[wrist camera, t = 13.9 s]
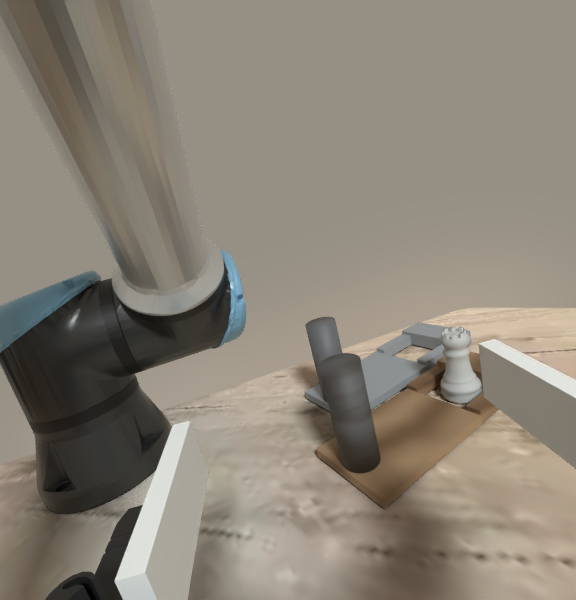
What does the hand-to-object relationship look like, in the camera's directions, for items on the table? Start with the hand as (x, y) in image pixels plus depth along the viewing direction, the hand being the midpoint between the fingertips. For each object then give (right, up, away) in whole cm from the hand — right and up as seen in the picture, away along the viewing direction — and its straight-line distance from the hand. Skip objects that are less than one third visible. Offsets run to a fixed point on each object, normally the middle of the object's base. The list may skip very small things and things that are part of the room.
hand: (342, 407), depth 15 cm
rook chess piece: (+18, -6, +25) cm, 31 cm away
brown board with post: (+13, -8, +22) cm, 27 cm away
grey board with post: (+12, -5, +34) cm, 36 cm away
